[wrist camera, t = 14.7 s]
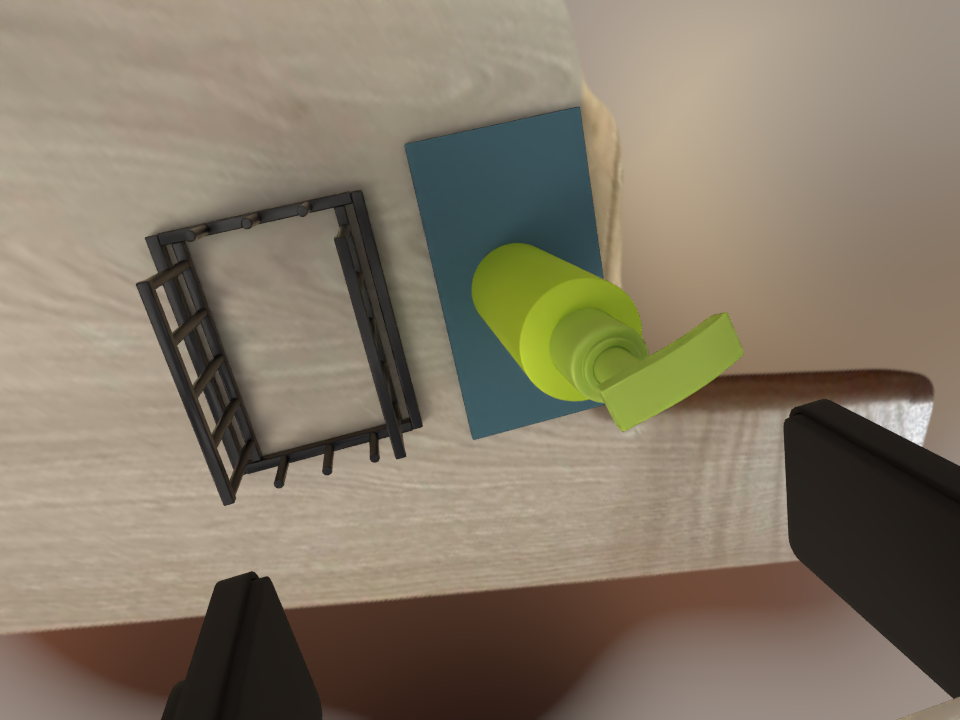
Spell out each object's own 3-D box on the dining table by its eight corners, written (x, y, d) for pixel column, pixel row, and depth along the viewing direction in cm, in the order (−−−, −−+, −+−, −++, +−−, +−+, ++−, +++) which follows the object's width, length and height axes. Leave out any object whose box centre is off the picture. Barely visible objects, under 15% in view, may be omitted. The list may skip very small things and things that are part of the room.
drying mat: (403, 144, 37) (404, 144, 37) (577, 107, 38) (580, 106, 38) (471, 436, 44) (473, 440, 43) (617, 397, 45) (620, 400, 44)
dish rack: (147, 235, 36) (93, 253, 29) (361, 188, 38) (361, 194, 30) (238, 472, 42) (211, 539, 34) (422, 424, 43) (435, 478, 35)
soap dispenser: (586, 294, 42) (771, 401, 23) (498, 347, 42) (609, 498, 23) (547, 217, 40) (715, 264, 21) (454, 272, 40) (538, 370, 21)
